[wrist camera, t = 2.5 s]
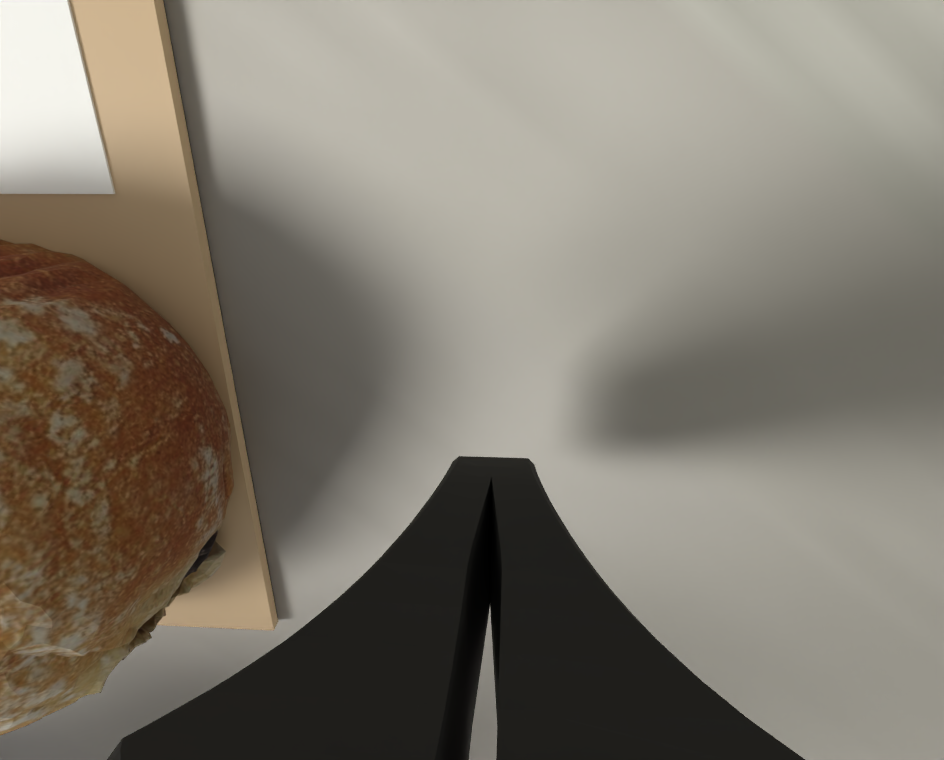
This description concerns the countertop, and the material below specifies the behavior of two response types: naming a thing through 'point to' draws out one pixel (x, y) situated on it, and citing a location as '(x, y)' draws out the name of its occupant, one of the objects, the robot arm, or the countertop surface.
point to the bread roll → (96, 477)
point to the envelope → (126, 217)
